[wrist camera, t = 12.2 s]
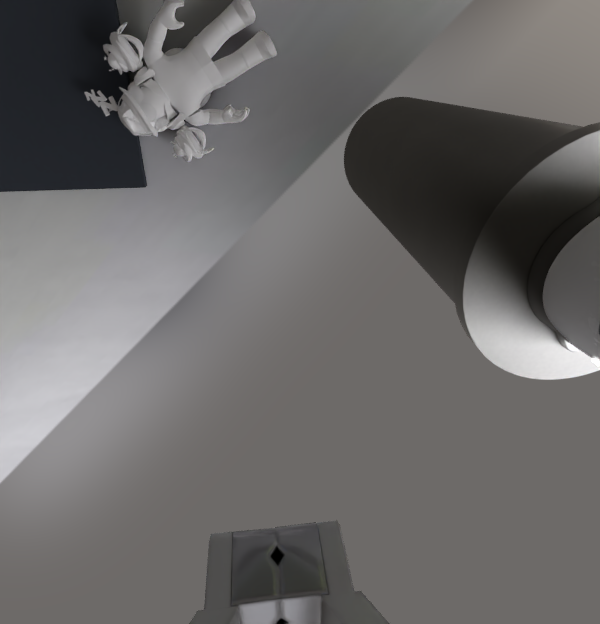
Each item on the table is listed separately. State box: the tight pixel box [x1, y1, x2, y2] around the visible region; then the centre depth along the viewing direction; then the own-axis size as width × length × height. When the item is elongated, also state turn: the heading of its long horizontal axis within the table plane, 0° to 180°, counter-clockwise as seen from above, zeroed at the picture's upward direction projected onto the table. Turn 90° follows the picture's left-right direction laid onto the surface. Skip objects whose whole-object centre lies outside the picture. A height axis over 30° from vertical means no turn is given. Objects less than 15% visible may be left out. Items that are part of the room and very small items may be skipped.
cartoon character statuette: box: [84, 0, 277, 162], centre depth 29 cm, size 9×4×12 cm
